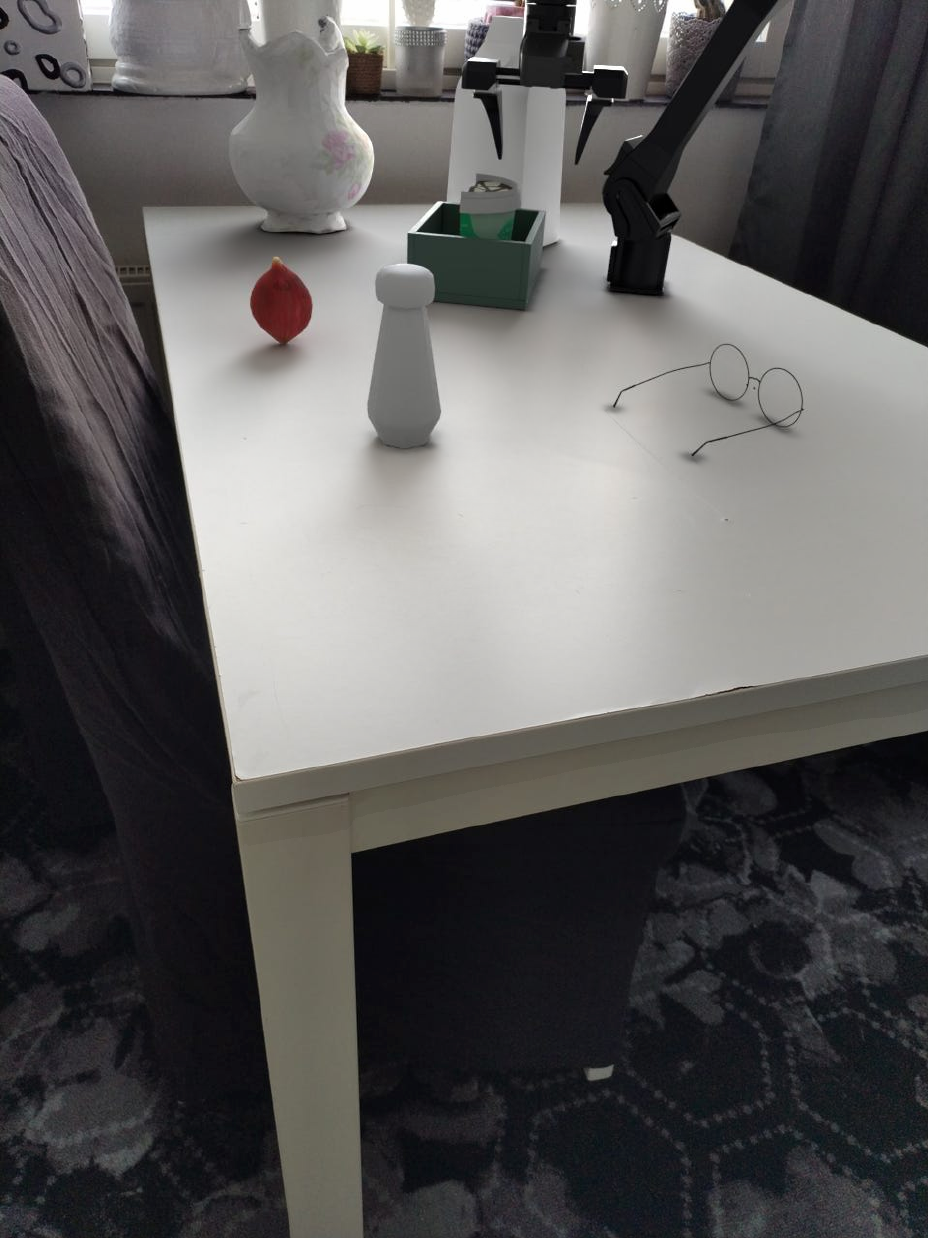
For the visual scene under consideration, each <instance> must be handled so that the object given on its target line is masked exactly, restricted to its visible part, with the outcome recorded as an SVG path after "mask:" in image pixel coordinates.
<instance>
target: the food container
mask: <svg viewBox="0 0 928 1238" xmlns="http://www.w3.org/2000/svg"><path fill="white" fill-rule="evenodd" d="M521 205H522V203H521V194H520V190H519V189H518V184H517V183H516V182H515V181H513V180H510V179H507V178H503V177H499V176H493V175H486V174H476V184H475V185H474V186H471V187H470V189H469V191H468V192H463V191H461V200H460V213H461V214H460V236H465V237H476V238H487V239H498V240H509V241H511V237H512V230H513V223H514V216H515V210H516V209H518V208H520V207H521Z"/></svg>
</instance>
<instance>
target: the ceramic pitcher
mask: <svg viewBox="0 0 928 1238" xmlns="http://www.w3.org/2000/svg"><path fill="white" fill-rule="evenodd" d="M252 24H253V23H252V21H248V22H247V21H246V22H241V23H239V25H235V28H236V30H237V33H238V40H239V42H240V46H241V48H242V51H243V54H244V57H245V58H246V61H247V65H248V66H249V70H250V73H251V75H252V78H253V83H254V89H255V96H256V98H255V102H254V105H253V107H252V109H251V110H250V112H249V113H248V114H247V115H246V116H245V117H244V118H243V119H242V120H240V122H239V123H238V124H237V125H236V126H234V128H233V129H232V130H231V133H230V134H229V138H228V139H229V140H228V155H229V156H228V157H229V161H230V162H229V163H230V166H231V170H232V173H233V176H234V178H235V181H236V182H237V185H238V186H239V187H240V189H241V191H242V192H243V193H244V195H245V196H246V198H248V199H249V201H250V202H251V203H253V204H254V205H256V206H258V207H259V208H261V209H263V210H265V211H266V212H267V216H266V218H265V219H264V222H263V223H261V226H260V228H261V229H262V230H263V231H264V232H265V231H266V232H269V233H270V232H271V233H281V232H282V233H283V232H302V233H303V232H304V233H312V234H313V233H314V234H319V235H320V234H326V233H333V232H336V231H344V230H345V231H346V230H347V229H348V228H347V225H346V223H345V221H344V218H343V216H342V215H341V211H342V212H343V211H345V210H348V209H350V208H352V207H353V206H355V205H356V204H357V203H358V202H359V201H360V200H361V199H362V197H363V196H364V194H365V193H366V191H367V189H368V187H369V185H370V183H371V179H372V177H373V172H374V166H375V152H374V146H373V142H372V140H371V138H370V137H369V135H368V134H367V132H365V130H364V129H362V128H361V126H360V125H358V123H357V122H356V121H355V120H354V118H353V117H352V116H351V114H349V113H348V110H347V108H346V106H345V105H346V86H347V85H346V83H347V71H348V68H349V66H350V64H349V63H350V62H349V56H348V51H347V49H346V45H345V41H344V38H343V35H342V32H341V30H340V28H339V27H338V25H337V20H334V17H331V15H328V14H326V15H325V16H323V15H322V16H319V19H318V20H317V24H318V29H319V32H318V34H317V35H318V36H317V39H316V38H315V37H314V36H312V35H310V34H308V33H306V32H303V31H300V30H299V29H296V30H292V31H289V32H288V33H285V34H283V35H281V36H273V37H272V38H271V39H269V40H268V41H267V42H265V43H263V42H260V41H259V40H258V39H256V38H255V36H254V34H253V32H252V27H251V25H252Z"/></svg>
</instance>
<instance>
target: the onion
mask: <svg viewBox="0 0 928 1238" xmlns="http://www.w3.org/2000/svg"><path fill="white" fill-rule="evenodd" d="M249 307H250V311H251V315H252V317H253V319H254V320H255V321H256V323H257V324H258V326H259V327H260V329H262V330H263V331H264V332H266V334H268V335H269V336H270V337H272V339H274V340H275V341H276V342H278V343H279V344H281V345H285V344H287V343H289V342H291V340H293V339H294V338H296V337H298V336H299V335H300V334H302V332H304V331H305V329H307V328H308V326H309V324H310V322H311V319H312V316H313V315H312V314H313V308H314V303H313V296H312V294H311V292H310V290H309V288H308V287H307V286H306V284H305V283H304V281H303V280H302V278H301V277H300V276H299V275H298V274H297V273H296V272H294V271H293V270H291V269H290V268H289V267H288V266H287V265H286V264H284V262H282V260H281V258H280V257H279V256H272V261H271V266H270V268H269V269H267V270H266V271H265V272H264V273H262V275H260V277H259V278H258V279H257V281H256V282H255V284H254V286H253V289H252V290H251V294H250V298H249Z"/></svg>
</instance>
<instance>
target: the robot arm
mask: <svg viewBox="0 0 928 1238" xmlns="http://www.w3.org/2000/svg"><path fill="white" fill-rule="evenodd" d="M490 1H492V2H493V1H494V2H508V3H509V2H510V3H515V2H517V0H490ZM578 1H579V0H525V4H524V17H523V18H524V31H523V39H522V42H521V45H520V55H519V68H516V67H501V60H500V59H484V58H474V57H471V58H469V59H467V60H466V61H465V63H464V64H463V65H462V68H461V76H462V84H461V88H462V89H470V90H474V92H473V98H476V99H480V100H481V101H482V103H483V105H484V108H485V110H486V113H487V116H488V118H489V121H490V125H491V129H492V134H493V138H494V143H495V147H496V152H497V156H498V160H502V154H503V114H502V90H498V88H499V87H500V85H515V86H524V87H547V88H550V89H559V88H563V89H565V90H581V91H589V92H588V93H589V94H590V95H588V96H587V99H586V103H585V109H584V113H583V116H582V117H583V118H582V122H581V125H580V129H579V130H580V131H579V135H578V138H577V139H578V140H577V144H576V149H575V156H574V166H578V165H579V163H580V160H581V158H582V155H583V152H584V150H585V148H586V145H587V143H588V140H589V138H590V135H591V132H592V130H593V128H594V126H595V124H596V122H597V120H598V119H599V117H600V115H601V113H602V112H603V110H604V108H612V107H613V106H614V100H625V99H626V96H627V89H628V83H629V81H628V80H629V74H628V72H627V70H626V69H625V68H624V66H615V65H614V66H613V65H597V64H594V65H593V71H584V63H585V53H586V43H587V36H585V35H584V36H581V35H575V30H576V20H577V11H578ZM791 1H792V0H732V2H731V4H730V6H729V7H728V8H727V11H726V12H725V14H724V15H723V17H722V18H721V20H720V22H719V23H718V25H717V26H716V27H715V29H714V31H713V33H712V34H711V35H710V37H709V39H708V40H707V42H706V44H704V47H703V48H702V50H701V51H700V53H699V54H698V57H697V58H696V60H695V61H694V63H693V64H692V66H691V67H690V68H689V70H688V72H687V74H686V75H685V77H684V79H683V80H682V82H681V83H680V85H679V87H678V88H677V90H676V91H675V93H674V94H673V96H672V97H671V99H670V100H669V102H668V104H667V105H666V106H665V109H664V110H663V112H662V114H661V115H660V116H659V118H658V119H657V121H656V123H655V124H654V126H653V127H652V129H651V130H650V132H649V133H648V134H647V135H646V136H645V137H644V136H643V135H639V136H636V137H632V138H628V139H626V140H624V141H623V143H622V144H621V146H620V148H619V151H618V152H617V155H616V157H615V159H614V161H613V162H612V164H611V165H610V166H609V167H608V168H607V169H606V170H605V171H603V175H604V176H607V178H606V179H605V180H604V183H603V185H602V188H601V189H602V190H601V195H602V200H603V206H604V207H605V211H606V212H607V213H608V214H609V215H610V218H611V223H612V230H613V234H614V237H615V238H616V240H613V241H612V242H611V246H610V250H609V259H608V266H607V272H606V281H607V283H609V287H608V289H609V291H615V292H625V293H635V294H646V295H654V296H655V295H657V296H663V295H665V294H664V293H665V278H666V273H667V266H668V262H669V261H668V260H669V255H670V250H671V244H672V237H673V236H672V232H670V231H673V230H674V229H675V228H676V226H677V224H678V222H679V221H680V218H681V217H682V215H683V214H682V211H681V209H680V208H679V206H678V205H677V203H676V201H675V200H674V199H673V197H672V196H671V194H670V192H669V189H670V188H671V187H670V186H671V184H672V182H673V181H674V178H675V176H676V174H677V171H678V168H679V165H680V161H681V159H682V154H683V152H684V150H685V148H686V146H687V145H688V143H689V142H690V140H691V139H692V137H693V136H694V135H695V133H696V131H697V130H698V129H699V127H700V125H701V124H702V122H703V121H704V120H705V118H706V116H707V115H708V114H709V112H710V110H711V109H712V108H713V106H714V105H715V103H716V101H717V100H718V99H719V98H720V95H721V94H722V93H723V91H724V89H725V88H726V86H728V83H730V80H731V79H732V78H733V76H734V74H735V73H736V71H737V70H738V69H739V67H740V66H741V64H742V63H743V61H744V59H745V58H746V56H747V55H748V54H749V52H750V50H751V49H752V48H753V46H754V44H755V43H756V41H757V40H758V39H759V37H760V35H761V34H762V33H763V31H764V30H765V28H766V26H767V25H768V24H769V22H770V21H772V19H773V18H774V17H775V16H777V14H779V13H780V12H781V11H782V10H783V9H784V8H785V7H786V6H787V5H788V4H789V3H791Z"/></svg>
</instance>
